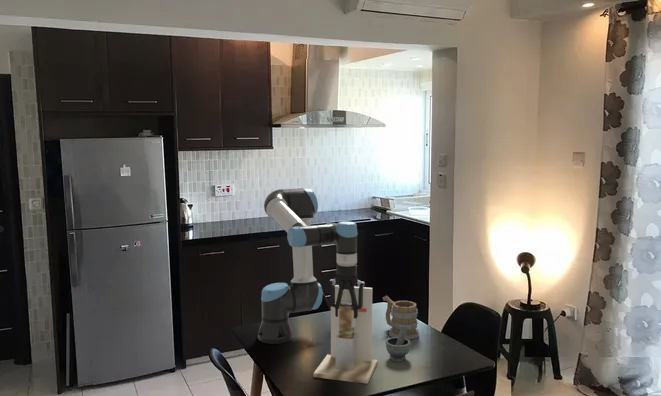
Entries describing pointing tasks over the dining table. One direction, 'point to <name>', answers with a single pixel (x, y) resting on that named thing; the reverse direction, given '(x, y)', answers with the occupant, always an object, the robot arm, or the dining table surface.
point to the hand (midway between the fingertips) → (346, 325)
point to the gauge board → (356, 324)
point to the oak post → (345, 319)
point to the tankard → (402, 318)
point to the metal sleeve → (346, 352)
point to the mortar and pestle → (398, 346)
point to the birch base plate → (359, 373)
